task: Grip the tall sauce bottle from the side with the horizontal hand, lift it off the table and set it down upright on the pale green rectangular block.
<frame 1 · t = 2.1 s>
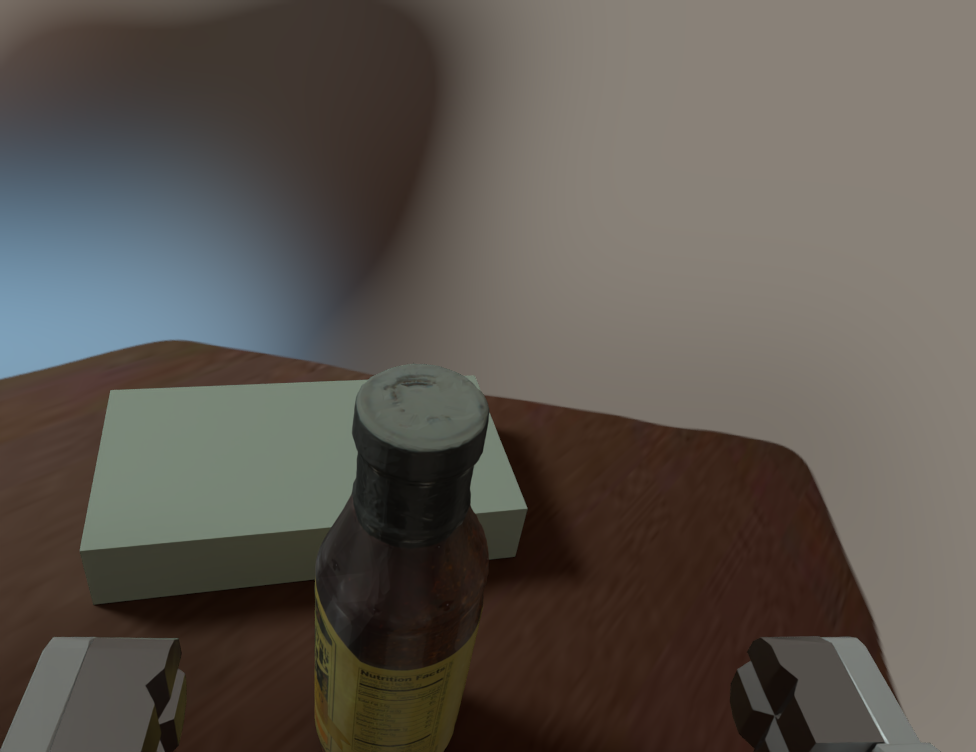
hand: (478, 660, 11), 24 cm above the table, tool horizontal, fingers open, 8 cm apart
pale green rectangular block: (311, 497, 45), on the table
sauce bottle: (382, 735, 35), on the table
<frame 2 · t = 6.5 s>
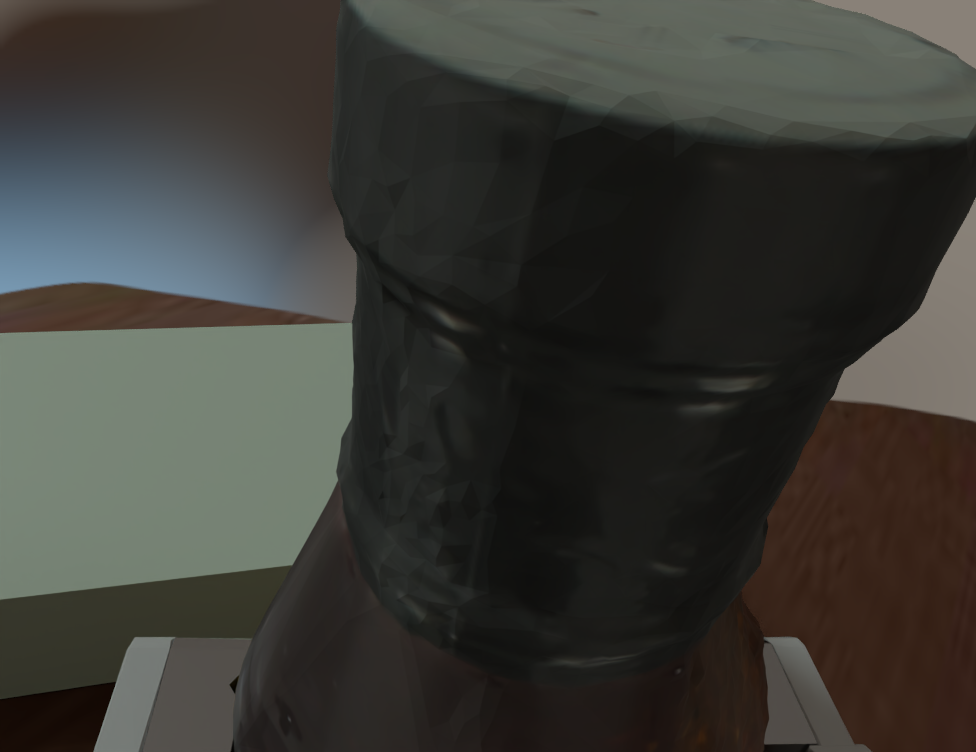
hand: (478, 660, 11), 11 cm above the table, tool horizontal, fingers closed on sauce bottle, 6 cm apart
pale green rectangular block: (282, 509, 27), on the table
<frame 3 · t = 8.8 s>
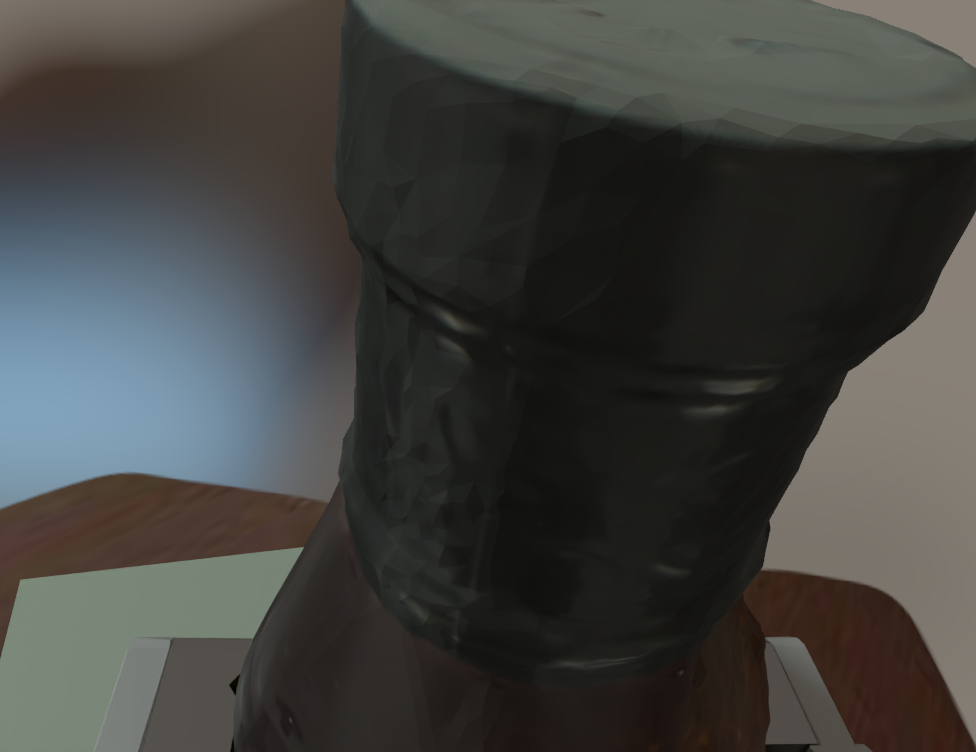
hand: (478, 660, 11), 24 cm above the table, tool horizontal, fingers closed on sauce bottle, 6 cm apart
pale green rectangular block: (289, 710, 35), on the table
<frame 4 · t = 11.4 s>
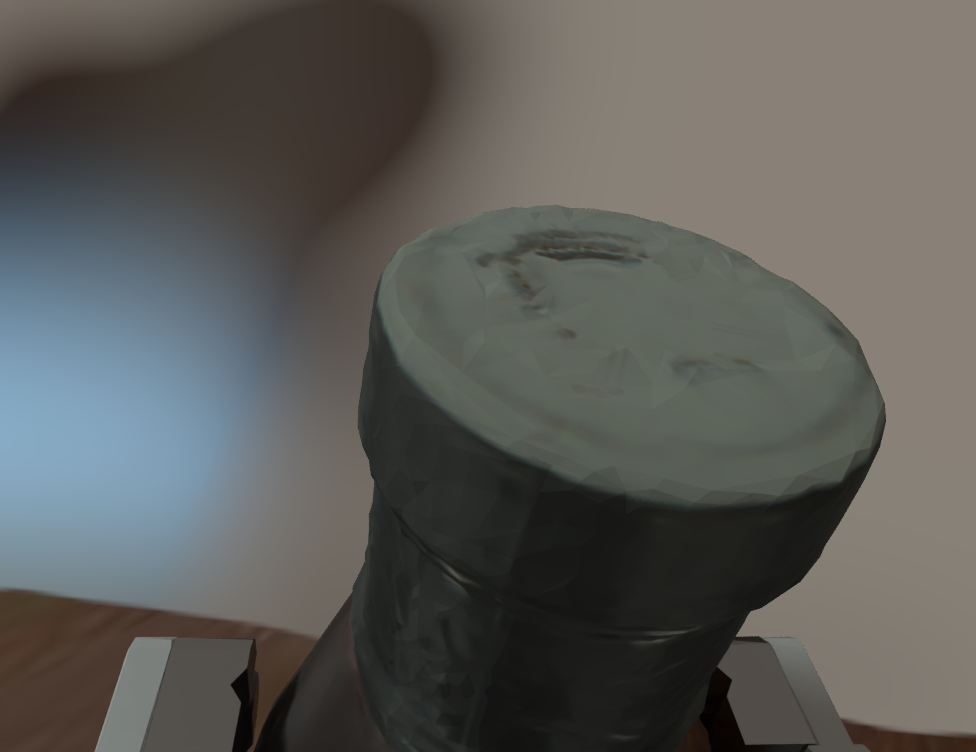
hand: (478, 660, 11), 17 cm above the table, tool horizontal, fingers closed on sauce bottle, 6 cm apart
when the fingers open (17 cm above the table, at t = 12.2 s): sauce bottle stays where it is, resting on pale green rectangular block.
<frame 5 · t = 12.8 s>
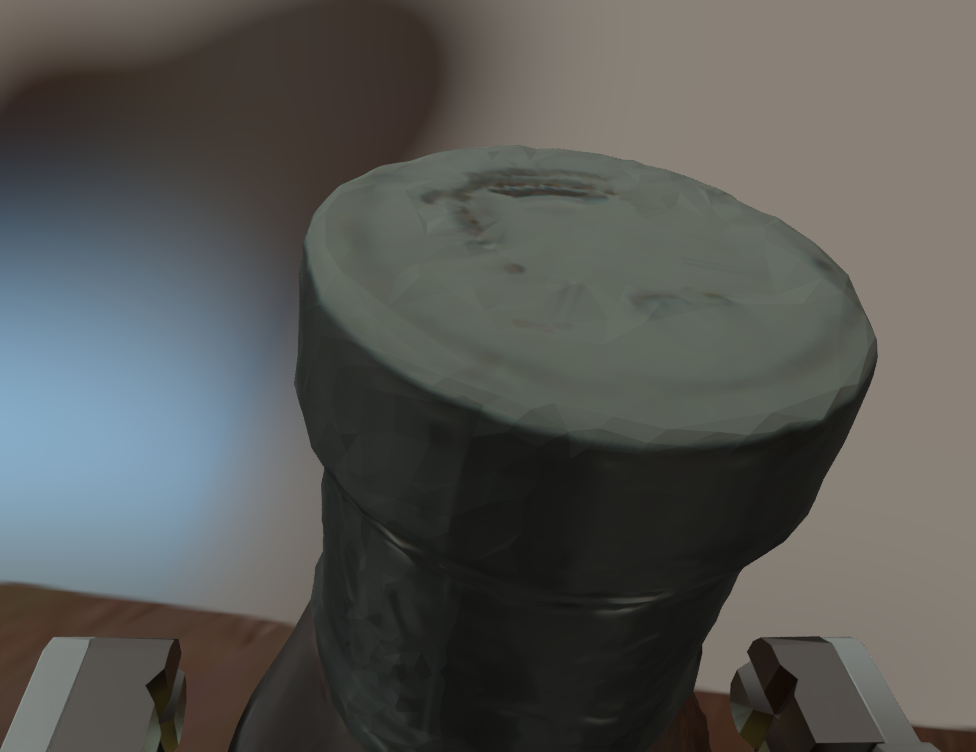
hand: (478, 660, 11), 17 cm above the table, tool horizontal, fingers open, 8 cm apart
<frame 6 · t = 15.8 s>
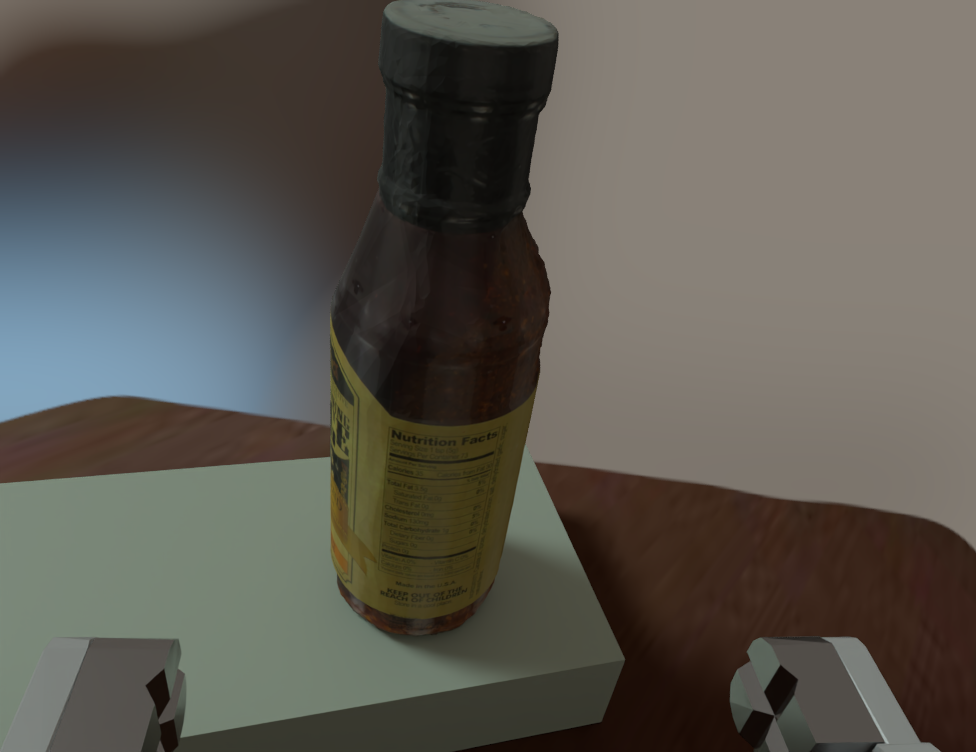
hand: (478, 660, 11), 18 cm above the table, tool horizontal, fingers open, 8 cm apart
pale green rectangular block: (297, 633, 31), on the table
sauce bottle: (412, 584, 29), point 4 cm above the table, touching pale green rectangular block
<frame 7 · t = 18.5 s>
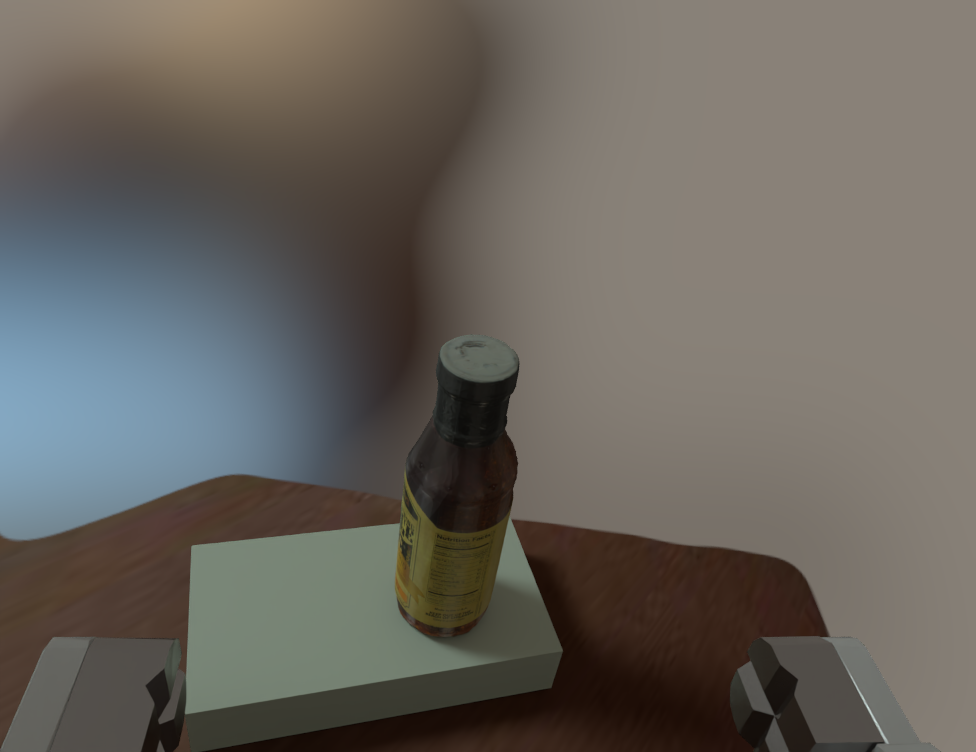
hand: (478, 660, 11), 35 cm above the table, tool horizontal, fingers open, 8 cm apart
pale green rectangular block: (369, 635, 51), on the table
sauce bottle: (440, 607, 49), point 4 cm above the table, touching pale green rectangular block
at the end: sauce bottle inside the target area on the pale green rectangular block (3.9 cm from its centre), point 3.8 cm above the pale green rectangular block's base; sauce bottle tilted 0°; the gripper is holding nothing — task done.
